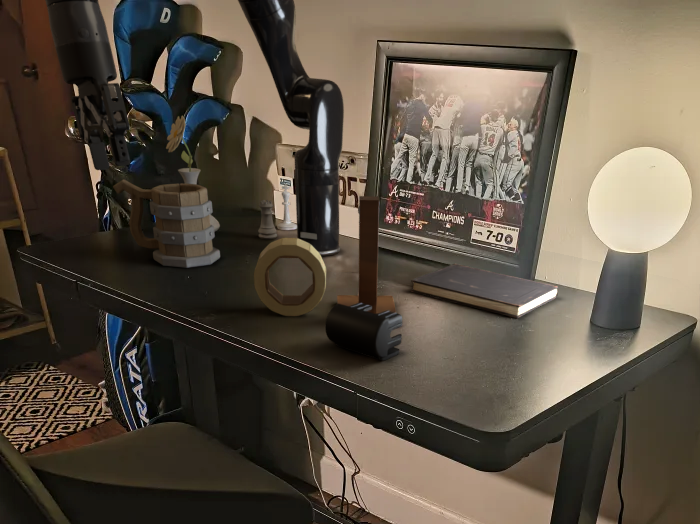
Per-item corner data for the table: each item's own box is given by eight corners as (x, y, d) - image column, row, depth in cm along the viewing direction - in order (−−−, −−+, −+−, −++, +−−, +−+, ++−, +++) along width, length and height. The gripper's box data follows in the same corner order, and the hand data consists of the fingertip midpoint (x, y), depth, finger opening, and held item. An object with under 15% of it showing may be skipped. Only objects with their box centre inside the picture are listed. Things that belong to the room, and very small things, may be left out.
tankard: (226, 253, 161) (220, 179, 153) (204, 269, 151) (196, 190, 143) (139, 247, 164) (128, 173, 156) (112, 262, 153) (99, 183, 145)
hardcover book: (517, 318, 131) (519, 305, 130) (410, 291, 142) (411, 279, 141) (557, 297, 142) (559, 285, 141) (455, 274, 153) (455, 262, 152)
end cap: (324, 350, 116) (324, 307, 112) (354, 338, 121) (354, 297, 117) (374, 367, 111) (375, 323, 107) (403, 354, 116) (405, 311, 112)
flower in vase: (174, 227, 180) (160, 110, 166) (222, 227, 181) (212, 111, 167) (167, 241, 169) (151, 117, 155) (218, 241, 170) (207, 118, 156)
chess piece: (293, 230, 181) (292, 186, 175) (274, 229, 181) (272, 185, 176) (299, 226, 185) (298, 183, 179) (280, 224, 185) (278, 181, 180)
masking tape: (258, 307, 132) (254, 237, 126) (326, 307, 133) (325, 238, 126) (256, 315, 128) (251, 244, 122) (326, 316, 129) (325, 245, 123)
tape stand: (337, 299, 137) (336, 182, 126) (391, 300, 138) (395, 184, 127) (337, 325, 125) (337, 199, 114) (396, 326, 126) (401, 200, 115)
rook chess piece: (280, 236, 176) (279, 200, 171) (272, 240, 172) (270, 203, 168) (263, 234, 177) (261, 198, 172) (254, 238, 173) (252, 202, 169)
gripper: (126, 33, 103) (154, 162, 110) (90, 52, 114) (118, 168, 121) (72, 33, 99) (105, 167, 106) (41, 53, 110) (72, 173, 116)
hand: (112, 167), depth 113 cm, fingers open, 8 cm apart
